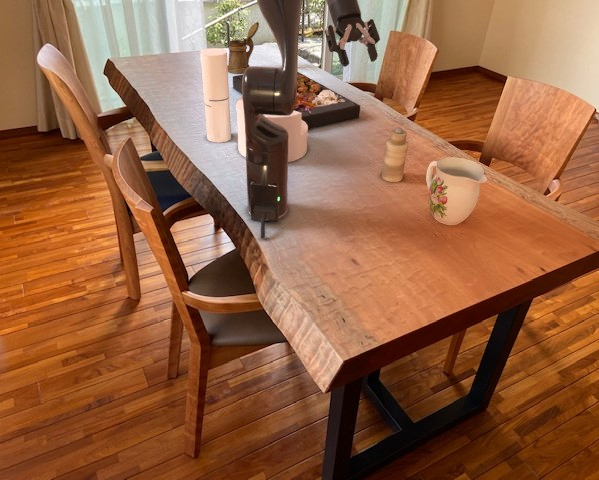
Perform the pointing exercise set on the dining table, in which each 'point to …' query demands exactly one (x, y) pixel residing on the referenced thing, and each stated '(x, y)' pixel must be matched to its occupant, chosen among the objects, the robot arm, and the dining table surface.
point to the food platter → (317, 103)
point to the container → (291, 123)
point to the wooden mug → (241, 52)
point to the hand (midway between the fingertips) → (360, 62)
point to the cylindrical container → (216, 94)
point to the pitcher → (454, 188)
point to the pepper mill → (395, 156)
